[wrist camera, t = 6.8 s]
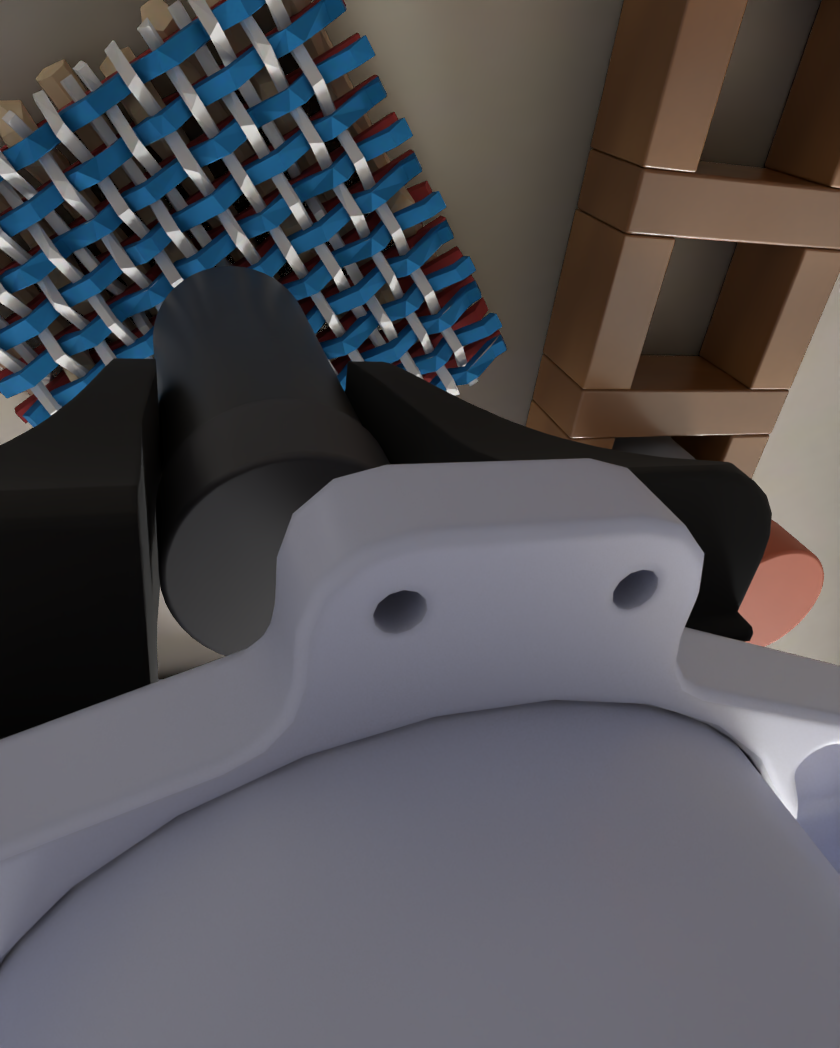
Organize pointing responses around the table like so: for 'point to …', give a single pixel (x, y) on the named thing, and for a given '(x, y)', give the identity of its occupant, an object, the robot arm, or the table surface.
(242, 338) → the cylinder
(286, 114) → the woven mat
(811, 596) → the grey marker
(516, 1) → the table surface
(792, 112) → the marker stand
